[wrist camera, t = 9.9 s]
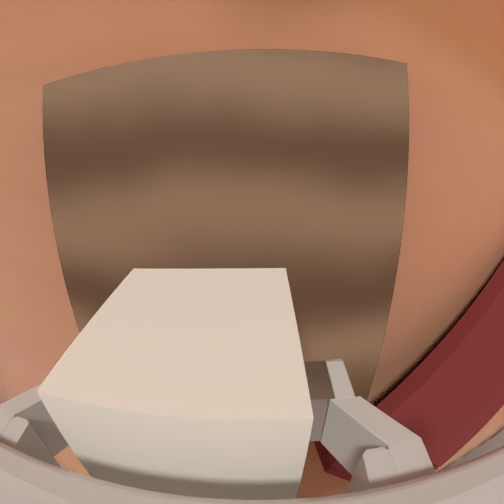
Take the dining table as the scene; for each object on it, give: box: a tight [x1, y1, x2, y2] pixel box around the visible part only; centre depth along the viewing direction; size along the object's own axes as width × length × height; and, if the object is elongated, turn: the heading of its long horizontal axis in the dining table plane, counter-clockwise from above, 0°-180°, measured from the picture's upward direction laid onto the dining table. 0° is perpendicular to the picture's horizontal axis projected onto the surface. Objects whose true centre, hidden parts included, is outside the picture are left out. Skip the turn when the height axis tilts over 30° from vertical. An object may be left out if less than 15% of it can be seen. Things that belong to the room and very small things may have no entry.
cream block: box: [37, 268, 314, 500], centre depth 8 cm, size 5×5×6 cm
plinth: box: [43, 49, 409, 401], centre depth 15 cm, size 20×16×3 cm
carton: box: [314, 260, 504, 481], centre depth 18 cm, size 12×5×25 cm
